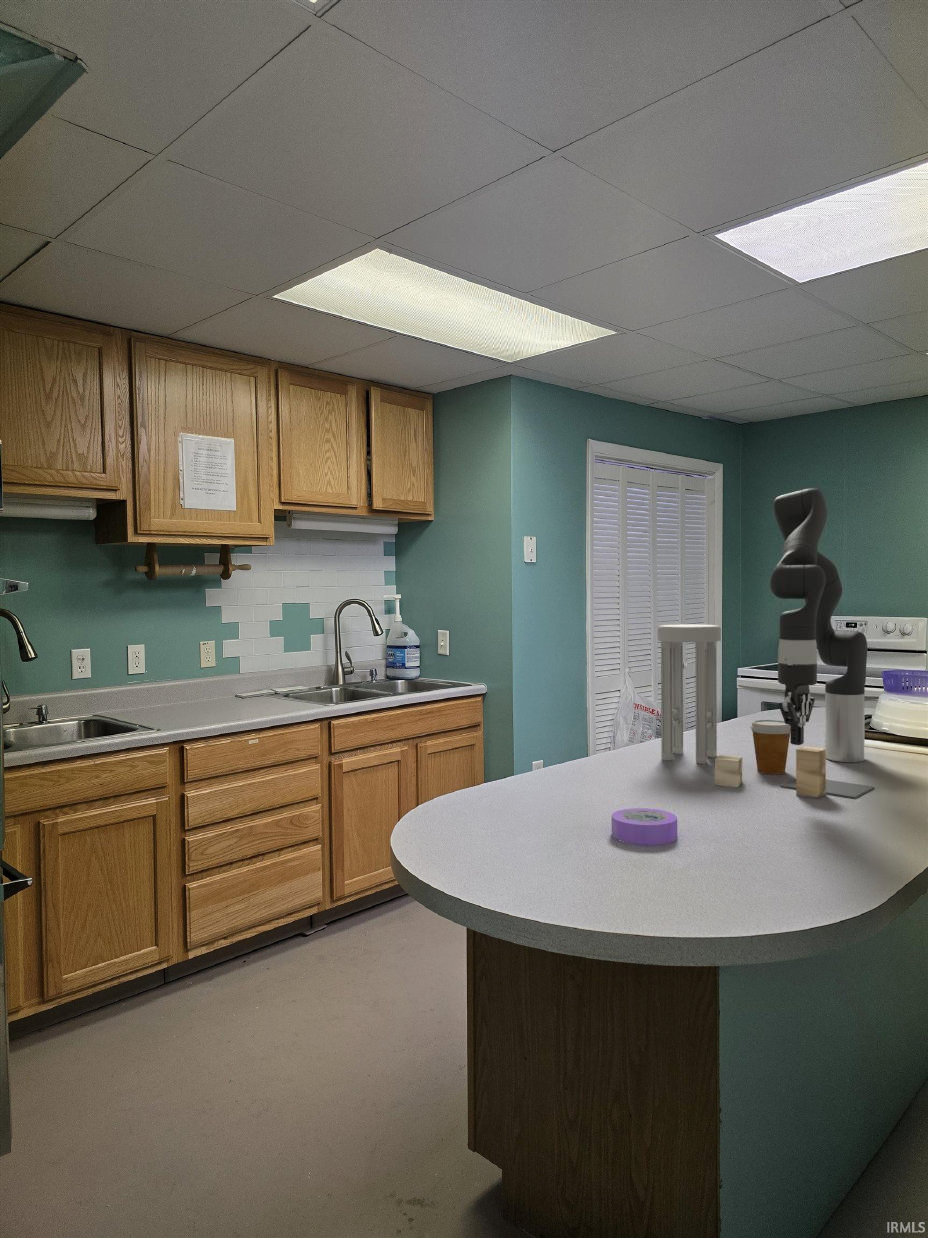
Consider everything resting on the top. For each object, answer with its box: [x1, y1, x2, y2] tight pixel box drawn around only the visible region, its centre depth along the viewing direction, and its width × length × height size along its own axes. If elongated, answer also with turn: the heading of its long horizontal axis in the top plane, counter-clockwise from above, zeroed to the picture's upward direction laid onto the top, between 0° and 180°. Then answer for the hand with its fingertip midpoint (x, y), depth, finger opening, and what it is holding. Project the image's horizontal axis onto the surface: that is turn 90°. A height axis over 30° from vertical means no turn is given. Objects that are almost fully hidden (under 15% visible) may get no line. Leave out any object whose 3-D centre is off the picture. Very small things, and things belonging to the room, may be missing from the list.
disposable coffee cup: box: [750, 719, 790, 775], centre depth 198 cm, size 10×10×12 cm
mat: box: [779, 778, 875, 800], centre depth 182 cm, size 12×16×1 cm
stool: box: [657, 623, 722, 765], centre depth 215 cm, size 16×16×35 cm
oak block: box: [795, 745, 827, 800], centre depth 175 cm, size 4×4×10 cm
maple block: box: [714, 754, 743, 788], centre depth 187 cm, size 5×5×6 cm
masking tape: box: [611, 807, 678, 846], centre depth 148 cm, size 12×12×4 cm
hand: (796, 744), depth 170 cm, fingers closed
